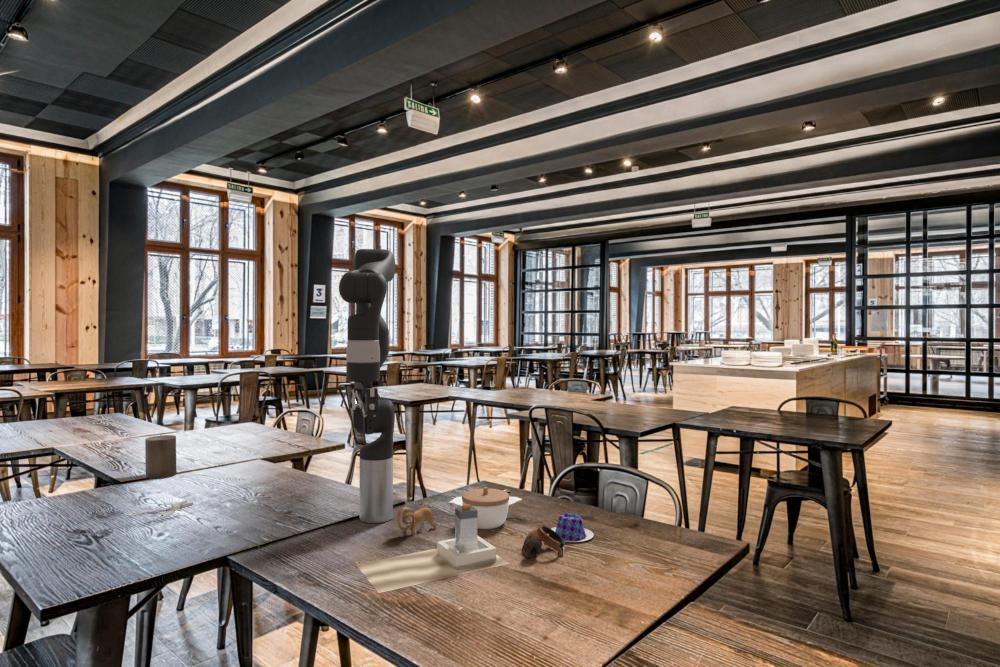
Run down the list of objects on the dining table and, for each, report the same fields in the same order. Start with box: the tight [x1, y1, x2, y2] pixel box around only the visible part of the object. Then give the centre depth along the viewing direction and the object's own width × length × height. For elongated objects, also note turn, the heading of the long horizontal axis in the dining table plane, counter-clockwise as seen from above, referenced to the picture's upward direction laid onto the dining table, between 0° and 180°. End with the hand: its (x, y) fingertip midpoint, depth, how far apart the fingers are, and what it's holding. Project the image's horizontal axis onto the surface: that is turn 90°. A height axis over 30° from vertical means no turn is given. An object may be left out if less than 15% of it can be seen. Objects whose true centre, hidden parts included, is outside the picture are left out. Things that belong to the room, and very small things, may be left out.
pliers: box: [129, 499, 194, 523], centre depth 171 cm, size 10×2×15 cm
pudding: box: [547, 512, 594, 543], centre depth 154 cm, size 12×12×5 cm
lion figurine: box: [396, 506, 437, 537], centre depth 153 cm, size 15×5×9 cm, turn 154°
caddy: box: [436, 534, 497, 570], centre depth 135 cm, size 10×10×3 cm
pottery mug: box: [521, 525, 566, 559], centre depth 138 cm, size 12×10×8 cm
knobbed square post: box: [453, 504, 479, 554], centre depth 135 cm, size 4×5×11 cm
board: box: [355, 548, 510, 594], centre depth 131 cm, size 16×30×2 cm, turn 119°
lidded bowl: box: [461, 486, 510, 530], centre depth 159 cm, size 13×13×11 cm
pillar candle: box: [144, 434, 178, 480], centre depth 212 cm, size 10×10×15 cm
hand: (363, 430), depth 136 cm, fingers open, 8 cm apart
